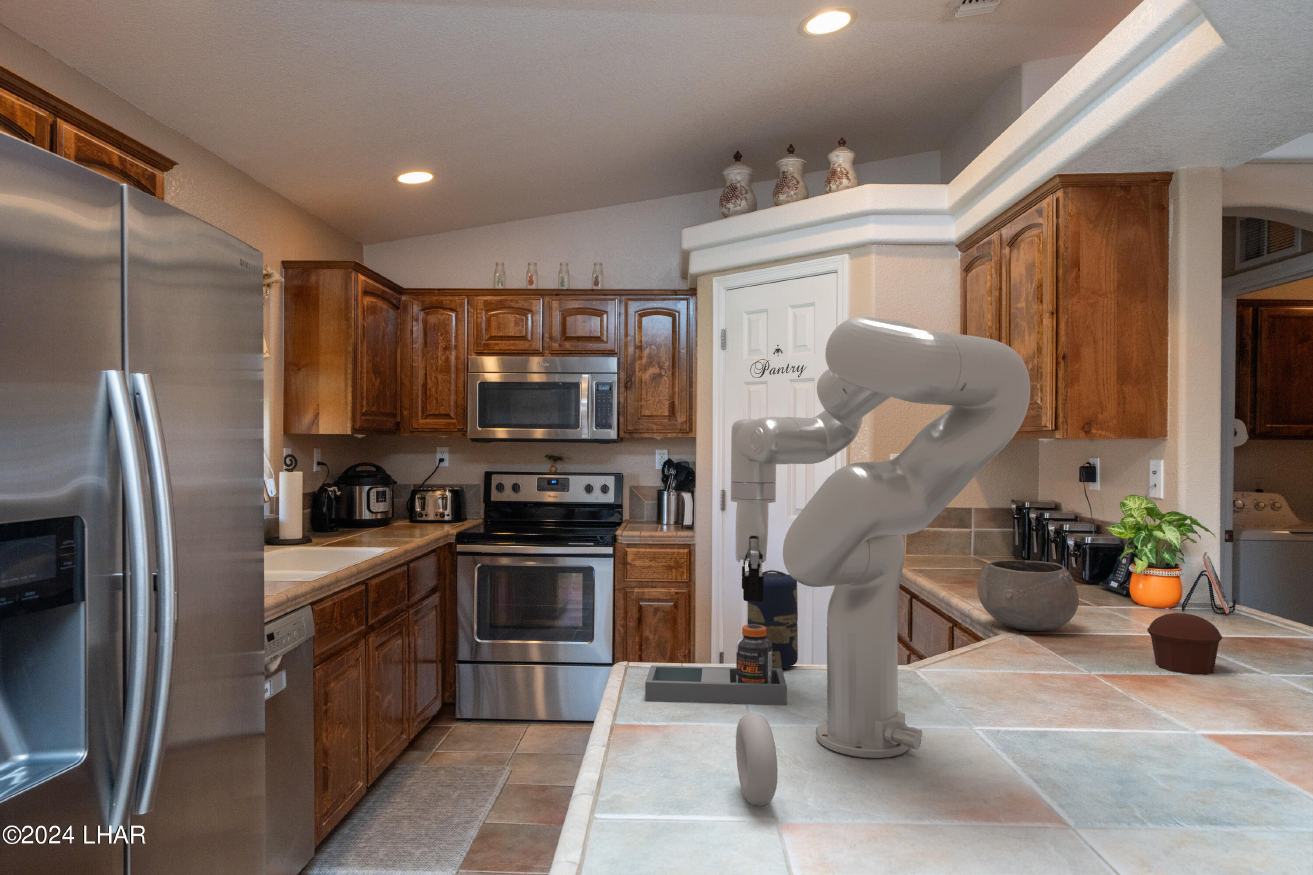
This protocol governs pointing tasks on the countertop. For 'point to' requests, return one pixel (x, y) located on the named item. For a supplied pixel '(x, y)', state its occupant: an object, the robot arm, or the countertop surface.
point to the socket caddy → (711, 686)
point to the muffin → (1184, 643)
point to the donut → (756, 758)
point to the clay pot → (1028, 594)
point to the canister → (778, 617)
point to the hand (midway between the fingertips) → (752, 594)
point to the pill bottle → (754, 656)
